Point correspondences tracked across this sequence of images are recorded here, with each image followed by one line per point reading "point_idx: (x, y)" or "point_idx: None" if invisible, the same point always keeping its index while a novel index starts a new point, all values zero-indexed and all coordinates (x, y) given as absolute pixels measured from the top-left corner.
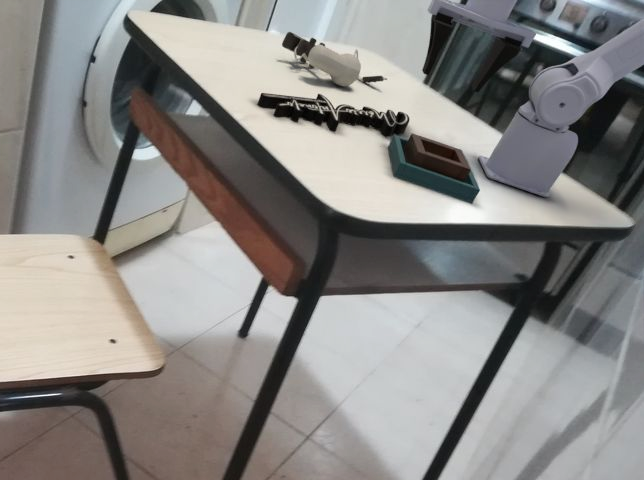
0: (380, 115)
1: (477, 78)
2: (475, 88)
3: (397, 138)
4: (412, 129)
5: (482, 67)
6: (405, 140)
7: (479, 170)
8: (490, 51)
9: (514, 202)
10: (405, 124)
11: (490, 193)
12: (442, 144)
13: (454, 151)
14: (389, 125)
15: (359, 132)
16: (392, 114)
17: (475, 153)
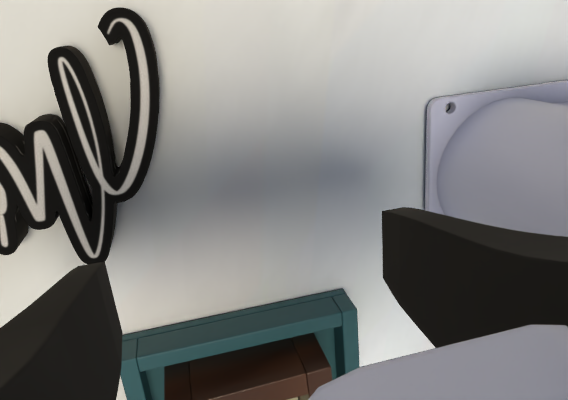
0: (35, 184)
1: (408, 248)
2: (389, 284)
3: (132, 384)
4: (190, 41)
5: (447, 233)
6: (159, 367)
7: (411, 204)
8: (526, 259)
9: None
10: (147, 169)
11: (411, 339)
12: (269, 393)
13: (307, 391)
14: (89, 258)
15: (9, 309)
16: (79, 103)
17: (429, 45)
